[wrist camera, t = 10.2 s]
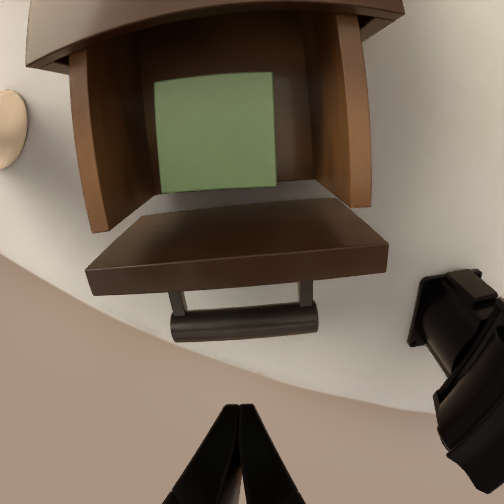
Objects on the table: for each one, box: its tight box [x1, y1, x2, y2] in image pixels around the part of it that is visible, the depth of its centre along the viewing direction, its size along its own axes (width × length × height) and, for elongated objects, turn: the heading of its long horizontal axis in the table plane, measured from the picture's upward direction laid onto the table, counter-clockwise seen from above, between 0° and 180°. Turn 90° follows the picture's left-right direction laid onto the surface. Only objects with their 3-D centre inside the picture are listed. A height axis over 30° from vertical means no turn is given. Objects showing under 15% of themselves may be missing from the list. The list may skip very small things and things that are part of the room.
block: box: [154, 72, 277, 194], centre depth 12 cm, size 4×4×4 cm
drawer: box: [69, 10, 389, 342], centre depth 12 cm, size 18×11×7 cm, turn 5°
